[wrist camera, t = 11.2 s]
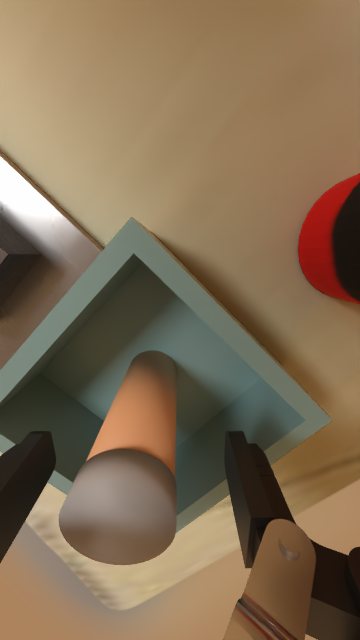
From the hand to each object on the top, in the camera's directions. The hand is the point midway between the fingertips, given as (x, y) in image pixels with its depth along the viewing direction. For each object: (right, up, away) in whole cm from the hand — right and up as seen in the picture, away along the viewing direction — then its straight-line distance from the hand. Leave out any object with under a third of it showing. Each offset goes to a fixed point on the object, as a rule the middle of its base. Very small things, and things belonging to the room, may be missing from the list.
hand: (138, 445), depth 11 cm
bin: (0, +2, +7) cm, 8 cm away
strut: (0, +2, +7) cm, 7 cm away
